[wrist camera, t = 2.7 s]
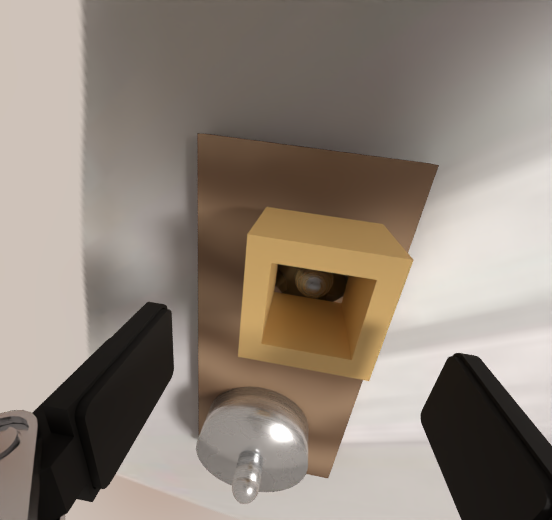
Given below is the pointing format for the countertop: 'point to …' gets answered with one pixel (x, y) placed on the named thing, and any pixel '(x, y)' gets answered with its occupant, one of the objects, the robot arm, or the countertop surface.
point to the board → (230, 278)
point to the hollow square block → (313, 312)
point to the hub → (254, 441)
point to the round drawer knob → (310, 283)
